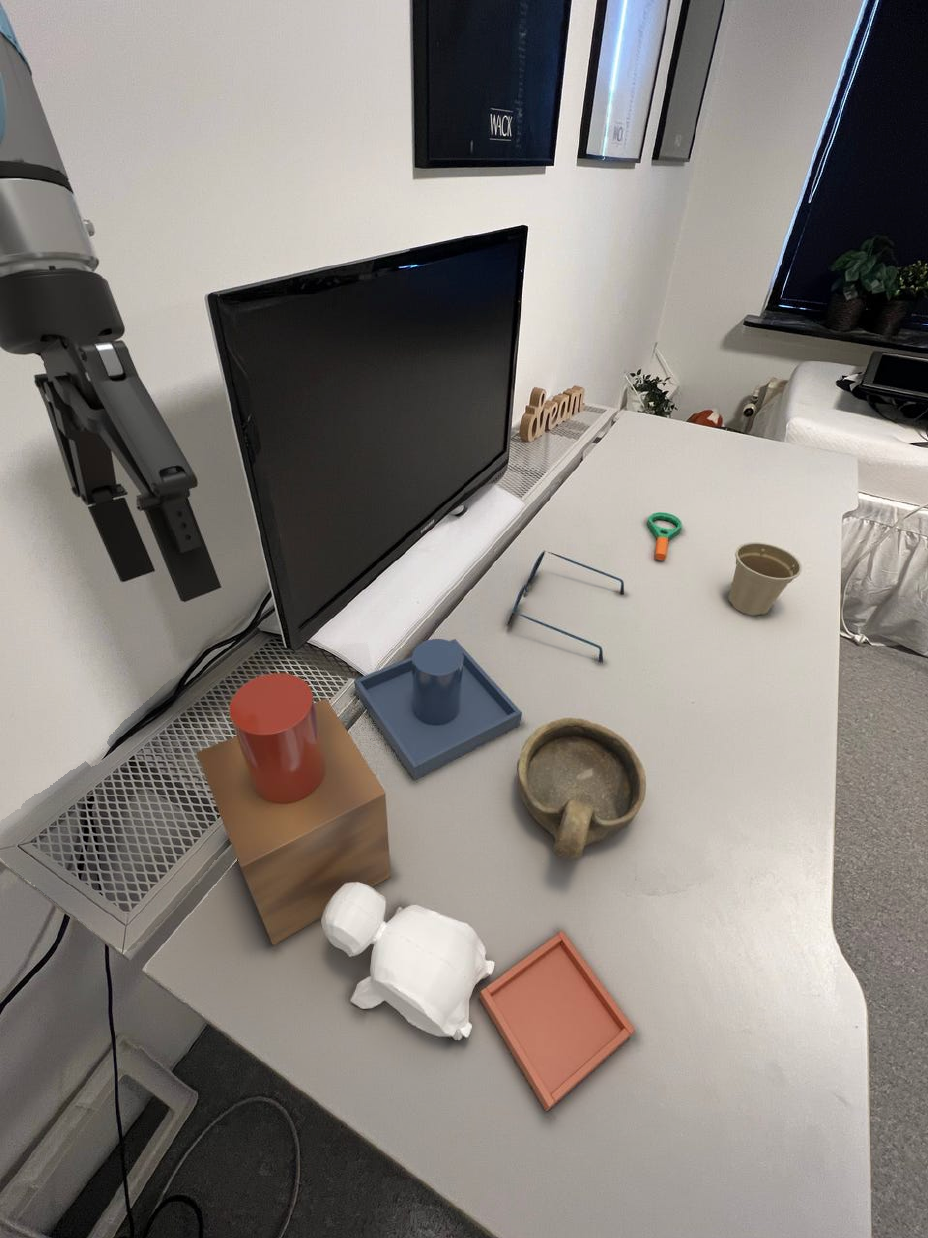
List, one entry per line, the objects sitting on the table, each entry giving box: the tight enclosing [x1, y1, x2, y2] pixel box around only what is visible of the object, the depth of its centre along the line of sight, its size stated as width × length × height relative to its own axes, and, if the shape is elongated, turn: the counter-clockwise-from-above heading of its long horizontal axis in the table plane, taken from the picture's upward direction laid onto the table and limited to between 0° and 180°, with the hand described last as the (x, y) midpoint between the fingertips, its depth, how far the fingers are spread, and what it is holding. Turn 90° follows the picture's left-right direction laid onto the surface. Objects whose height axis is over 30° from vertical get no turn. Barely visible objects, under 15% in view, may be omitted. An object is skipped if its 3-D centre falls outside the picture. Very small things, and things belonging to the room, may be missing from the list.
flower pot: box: [728, 541, 803, 617], centre depth 92 cm, size 9×9×9 cm
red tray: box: [478, 930, 636, 1113], centre depth 50 cm, size 9×9×2 cm
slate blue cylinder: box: [411, 638, 464, 725], centre depth 72 cm, size 6×6×9 cm
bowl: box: [516, 717, 647, 861], centre depth 62 cm, size 14×18×10 cm
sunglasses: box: [506, 550, 625, 663], centre depth 90 cm, size 17×15×5 cm
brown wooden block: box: [195, 698, 392, 946], centre depth 55 cm, size 12×12×15 cm
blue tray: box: [353, 638, 523, 781], centre depth 74 cm, size 15×15×2 cm
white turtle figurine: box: [320, 882, 496, 1041], centre depth 50 cm, size 9×8×15 cm
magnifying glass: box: [647, 511, 683, 561], centre depth 107 cm, size 15×6×2 cm, turn 162°
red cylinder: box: [228, 672, 325, 804], centre depth 47 cm, size 6×6×9 cm
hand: (166, 584), depth 46 cm, fingers open, 13 cm apart
